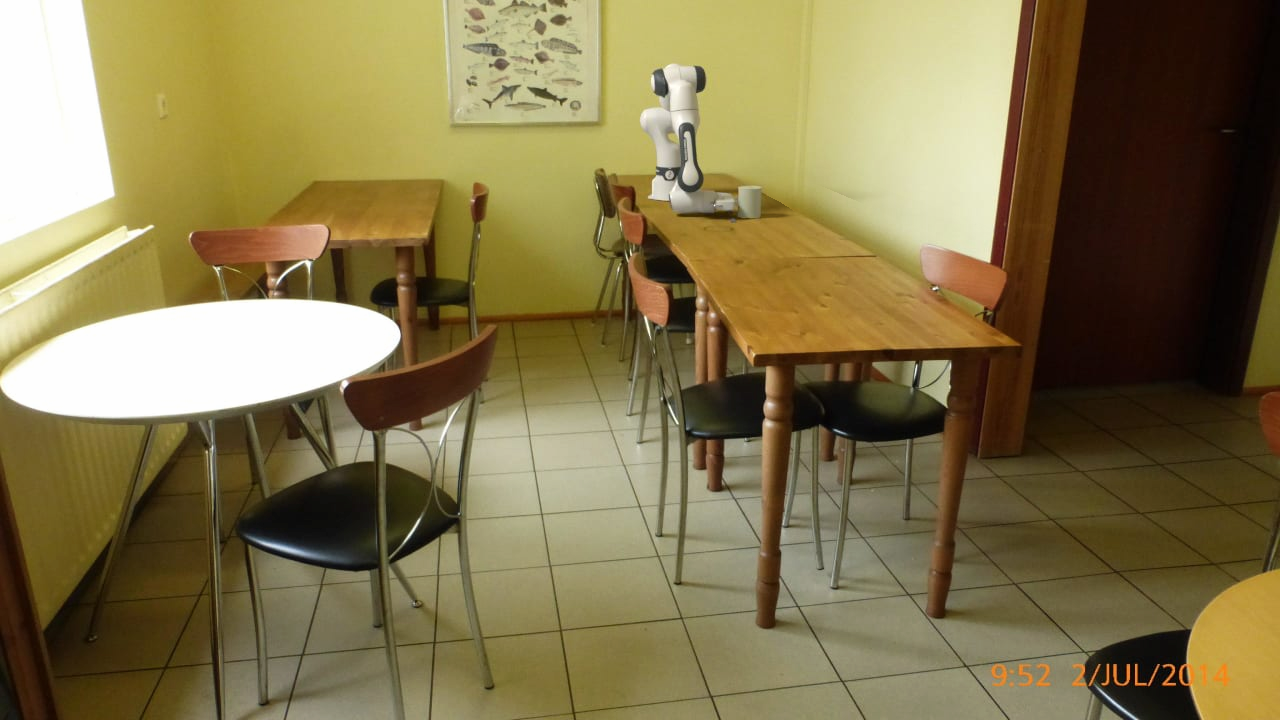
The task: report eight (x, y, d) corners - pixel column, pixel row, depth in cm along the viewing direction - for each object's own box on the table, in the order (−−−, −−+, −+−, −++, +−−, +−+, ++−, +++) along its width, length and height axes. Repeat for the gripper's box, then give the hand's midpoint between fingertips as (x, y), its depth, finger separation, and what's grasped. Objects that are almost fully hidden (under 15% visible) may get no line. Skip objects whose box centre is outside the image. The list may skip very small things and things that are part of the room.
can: (737, 218, 363) (738, 187, 360) (736, 214, 372) (737, 184, 368) (761, 218, 363) (762, 187, 359) (760, 214, 372) (761, 184, 368)
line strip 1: (726, 209, 383) (726, 208, 383) (730, 209, 383) (730, 208, 383) (727, 212, 376) (727, 212, 376) (731, 212, 376) (731, 212, 376)
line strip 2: (729, 218, 364) (729, 217, 363) (734, 218, 363) (734, 217, 363) (731, 222, 356) (731, 221, 356) (735, 222, 356) (735, 221, 356)
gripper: (711, 197, 357) (747, 197, 357) (709, 190, 376) (743, 190, 376) (711, 214, 359) (747, 214, 359) (708, 205, 378) (742, 205, 378)
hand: (745, 201), depth 368 cm, fingers closed
